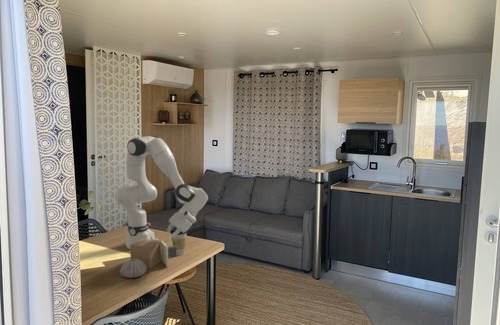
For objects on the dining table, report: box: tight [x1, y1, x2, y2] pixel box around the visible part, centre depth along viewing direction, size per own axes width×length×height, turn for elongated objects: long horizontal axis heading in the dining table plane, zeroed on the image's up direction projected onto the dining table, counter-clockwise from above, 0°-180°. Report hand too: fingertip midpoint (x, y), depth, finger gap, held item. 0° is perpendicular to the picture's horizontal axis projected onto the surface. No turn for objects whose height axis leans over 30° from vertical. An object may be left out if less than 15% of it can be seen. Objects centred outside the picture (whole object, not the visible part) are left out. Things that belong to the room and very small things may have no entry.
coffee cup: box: [170, 227, 188, 256], centre depth 226 cm, size 10×10×15 cm
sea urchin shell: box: [119, 258, 148, 279], centre depth 196 cm, size 13×14×8 cm
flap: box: [161, 240, 177, 268], centre depth 211 cm, size 12×6×11 cm, turn 27°
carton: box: [129, 238, 162, 269], centre depth 211 cm, size 12×12×12 cm
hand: (170, 233), depth 207 cm, fingers open, 8 cm apart
